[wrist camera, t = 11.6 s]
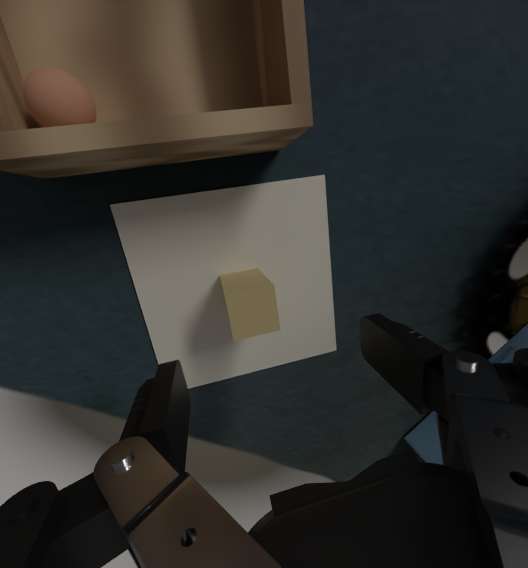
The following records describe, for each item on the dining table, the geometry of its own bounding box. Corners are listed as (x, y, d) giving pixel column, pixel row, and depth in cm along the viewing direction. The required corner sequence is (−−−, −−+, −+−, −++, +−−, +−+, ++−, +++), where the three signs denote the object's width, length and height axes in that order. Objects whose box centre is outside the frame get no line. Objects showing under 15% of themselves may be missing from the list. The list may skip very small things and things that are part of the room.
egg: (94, 81, 15) (69, 51, 12) (111, 140, 16) (92, 126, 13) (35, 85, 14) (-5, 56, 12) (56, 146, 15) (23, 132, 13)
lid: (320, 176, 21) (362, 164, 15) (332, 346, 25) (368, 384, 20) (113, 204, 18) (75, 203, 13) (168, 387, 23) (157, 444, 17)
